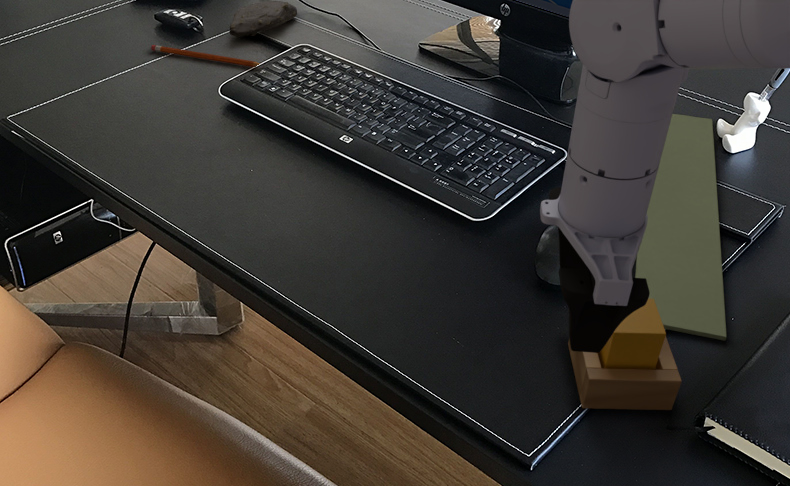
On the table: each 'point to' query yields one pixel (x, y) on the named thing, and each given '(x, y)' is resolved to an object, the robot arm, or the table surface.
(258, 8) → the stone
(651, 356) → the block
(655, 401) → the stand
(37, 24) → the table surface
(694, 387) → the table surface
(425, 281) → the table surface
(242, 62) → the pencil
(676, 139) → the mat
